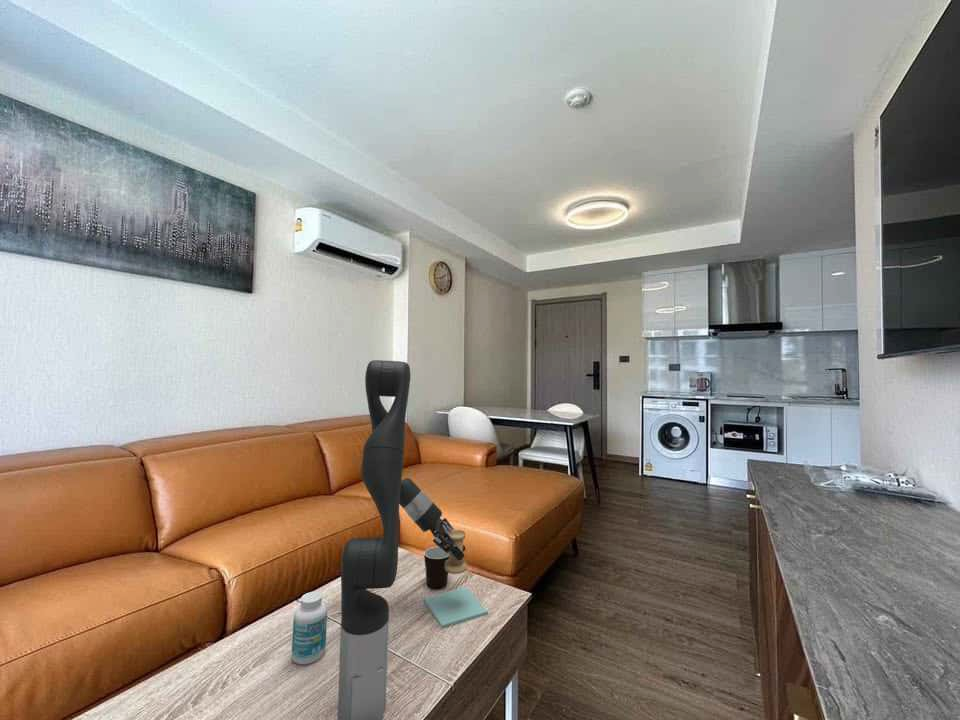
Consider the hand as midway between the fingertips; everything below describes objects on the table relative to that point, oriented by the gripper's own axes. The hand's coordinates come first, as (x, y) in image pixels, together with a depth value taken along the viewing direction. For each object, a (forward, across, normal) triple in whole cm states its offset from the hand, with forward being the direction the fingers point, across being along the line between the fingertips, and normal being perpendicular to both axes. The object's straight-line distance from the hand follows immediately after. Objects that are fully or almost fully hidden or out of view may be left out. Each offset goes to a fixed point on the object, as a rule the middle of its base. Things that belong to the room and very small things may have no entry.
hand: (462, 554), depth 113 cm
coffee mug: (+5, +13, +17) cm, 22 cm away
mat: (+9, 0, +12) cm, 15 cm away
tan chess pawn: (+2, 0, +4) cm, 5 cm away
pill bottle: (-14, -21, +35) cm, 43 cm away
